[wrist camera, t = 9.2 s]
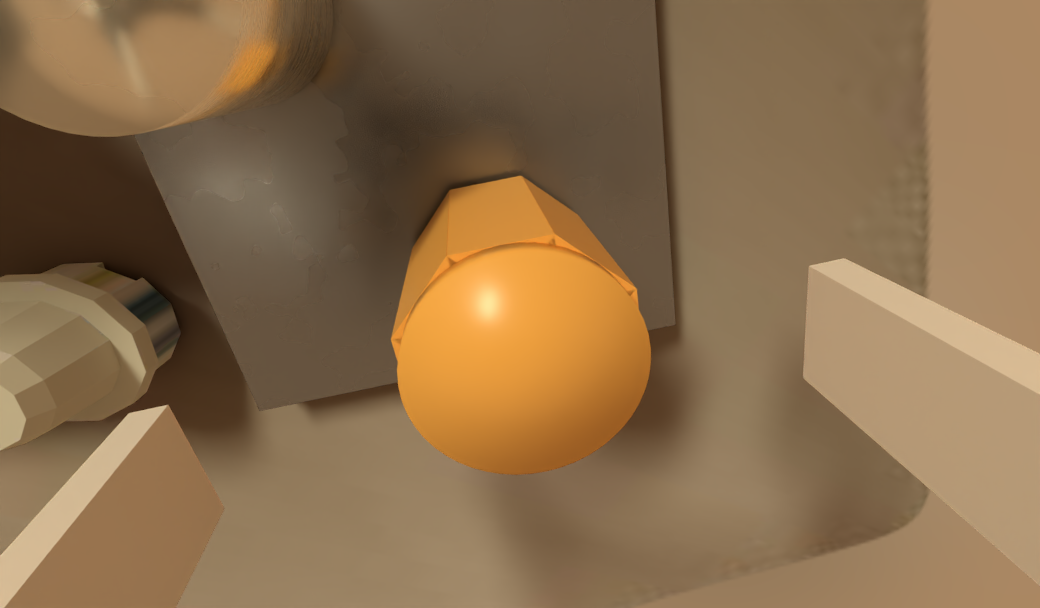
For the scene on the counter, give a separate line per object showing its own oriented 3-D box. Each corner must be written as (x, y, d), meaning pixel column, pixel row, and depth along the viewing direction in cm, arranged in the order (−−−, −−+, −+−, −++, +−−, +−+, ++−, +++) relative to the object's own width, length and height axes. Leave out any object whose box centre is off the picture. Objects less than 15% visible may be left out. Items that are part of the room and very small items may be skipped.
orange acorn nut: (440, 351, 20) (432, 495, 13) (398, 200, 17) (364, 283, 11) (592, 319, 20) (659, 447, 13) (571, 165, 17) (640, 227, 11)
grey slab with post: (275, 382, 22) (165, 575, 14) (75, -84, 16) (-366, -254, 7) (658, 303, 23) (775, 444, 14) (620, -184, 16) (798, -455, 8)
